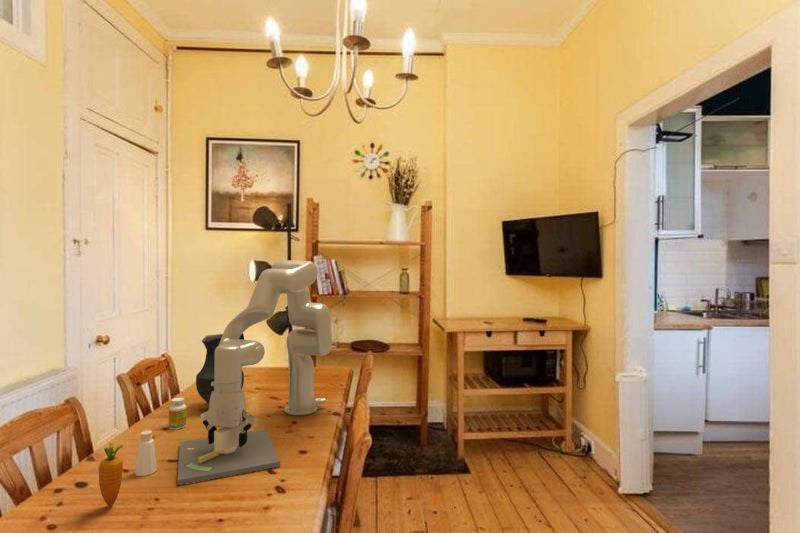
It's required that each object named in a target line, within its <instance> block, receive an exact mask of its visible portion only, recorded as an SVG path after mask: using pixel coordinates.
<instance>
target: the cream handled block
mask: <svg viewBox="0 0 800 533" xmlns="http://www.w3.org/2000/svg"><path fill="white" fill-rule="evenodd" d="M240 433H241V432H240V431H239V429H238V428H237V427H236V428H228V427H221V428H217V430H215V431H214V451H213V452H210V453H208V454H206V455H204V456H201V457H199V458H198V462H199V463H202V462H205V461H207V460H209V459H211V458H213V457H216V456H218V455H219V453H220V454H231V453H233V452H235V451H236V447H237V446H239V434H240Z"/></svg>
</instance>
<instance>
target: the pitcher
mask: <svg viewBox="0 0 800 533" xmlns="http://www.w3.org/2000/svg"><path fill="white" fill-rule="evenodd" d="M222 335H223V333H219V334H206V335H205V336H204V337H203V338H202V339H201V342H202V344H203V346H204V347H205V349H206V353H205V359H204V360H205V361H204V363H203V366H202V368H201V369H200V371H199V372H198V373H197V374H196V376H195V386H196V390H197V393H198V395H199V397H201V399H202V400H204V401H205V402H206V403H207V404H208V406H207V408H206V410H207V411H208V410H209V402H210V397H211V393H212V391H214V386H211V382H214V381H215V349H216V348H217V347H218V346H219V343H220V340H221V338H222ZM239 339H242V340H245V335H244V332H243V333H242V334H241V336H240V338H239ZM244 381H245V374H244V371H243V369H242V381H241V390H243V389H244V384H245V382H244Z"/></svg>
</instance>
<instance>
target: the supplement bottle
mask: <svg viewBox="0 0 800 533" xmlns="http://www.w3.org/2000/svg"><path fill="white" fill-rule="evenodd" d="M170 402H171V405H170V406H169V408H168V429H170V430H172V431H173V430H174V431H175V430H181V428H182V429H184V428H185V427H186V426H187V405H186V404H185V398H184V397H174V398H172V399H171V401H170Z"/></svg>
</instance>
